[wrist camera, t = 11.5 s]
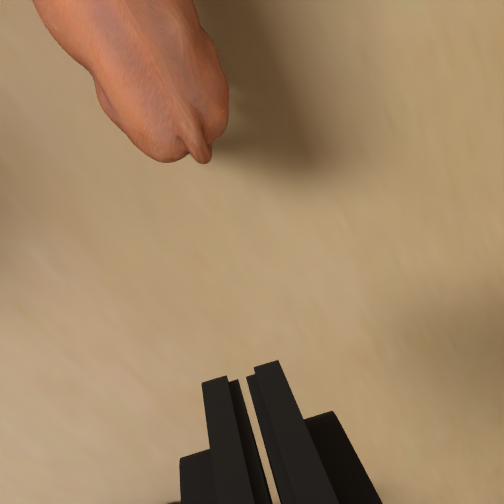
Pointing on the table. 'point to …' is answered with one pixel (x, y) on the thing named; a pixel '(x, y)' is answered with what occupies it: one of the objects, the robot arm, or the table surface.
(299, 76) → the table surface
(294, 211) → the table surface
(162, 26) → the bull figurine
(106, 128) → the table surface
